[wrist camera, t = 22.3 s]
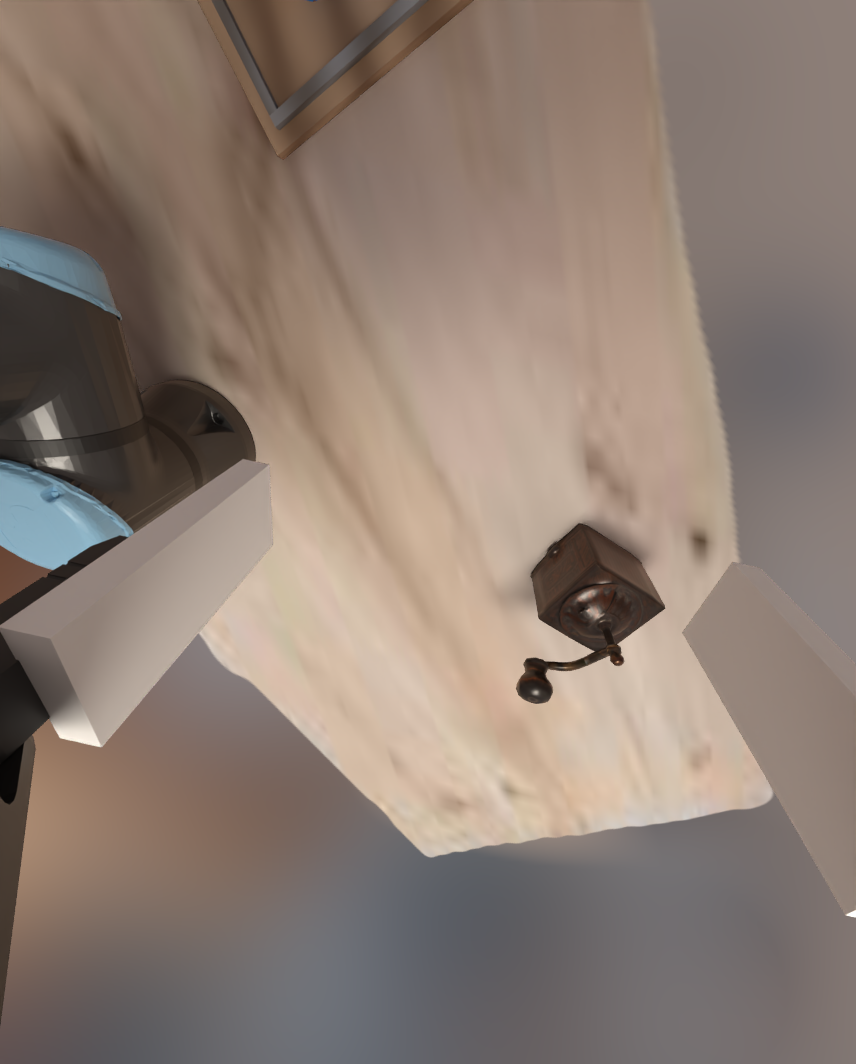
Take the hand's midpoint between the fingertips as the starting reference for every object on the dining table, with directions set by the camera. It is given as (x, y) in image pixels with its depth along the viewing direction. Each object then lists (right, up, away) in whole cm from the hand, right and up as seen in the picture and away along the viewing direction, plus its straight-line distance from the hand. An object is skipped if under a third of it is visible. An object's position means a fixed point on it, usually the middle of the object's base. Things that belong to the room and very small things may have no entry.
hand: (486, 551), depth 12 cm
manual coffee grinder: (+18, -6, +44) cm, 48 cm away
